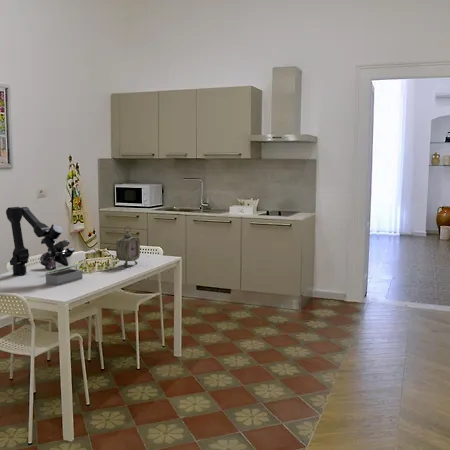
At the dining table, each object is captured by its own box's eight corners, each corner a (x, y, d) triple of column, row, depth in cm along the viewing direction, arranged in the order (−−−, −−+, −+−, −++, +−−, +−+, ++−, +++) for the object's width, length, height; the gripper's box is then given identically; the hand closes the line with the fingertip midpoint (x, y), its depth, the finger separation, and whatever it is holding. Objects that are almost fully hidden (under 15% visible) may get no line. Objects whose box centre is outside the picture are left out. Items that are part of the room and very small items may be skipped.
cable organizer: (69, 274, 314) (68, 254, 313) (55, 272, 319) (54, 253, 317) (85, 269, 328) (85, 250, 326) (72, 268, 332) (71, 249, 331)
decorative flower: (39, 255, 322) (44, 244, 336) (35, 271, 326) (40, 260, 340) (63, 260, 325) (67, 249, 339) (60, 277, 329) (63, 265, 343)
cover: (45, 274, 290) (45, 272, 290) (70, 268, 305) (69, 266, 305) (57, 269, 285) (56, 268, 285) (81, 264, 300) (80, 262, 300)
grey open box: (46, 283, 290) (45, 274, 290) (70, 277, 306) (70, 268, 305) (57, 285, 286) (57, 276, 285) (82, 279, 301) (82, 270, 301)
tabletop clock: (128, 268, 331) (126, 227, 328) (115, 267, 334) (114, 227, 331) (140, 263, 344) (139, 225, 341) (128, 262, 348) (127, 224, 345)
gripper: (45, 237, 286) (61, 259, 282) (71, 233, 302) (87, 254, 298) (36, 250, 291) (51, 272, 287) (62, 245, 307) (77, 266, 303)
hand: (67, 266), depth 294 cm, fingers closed, pressing on cover
